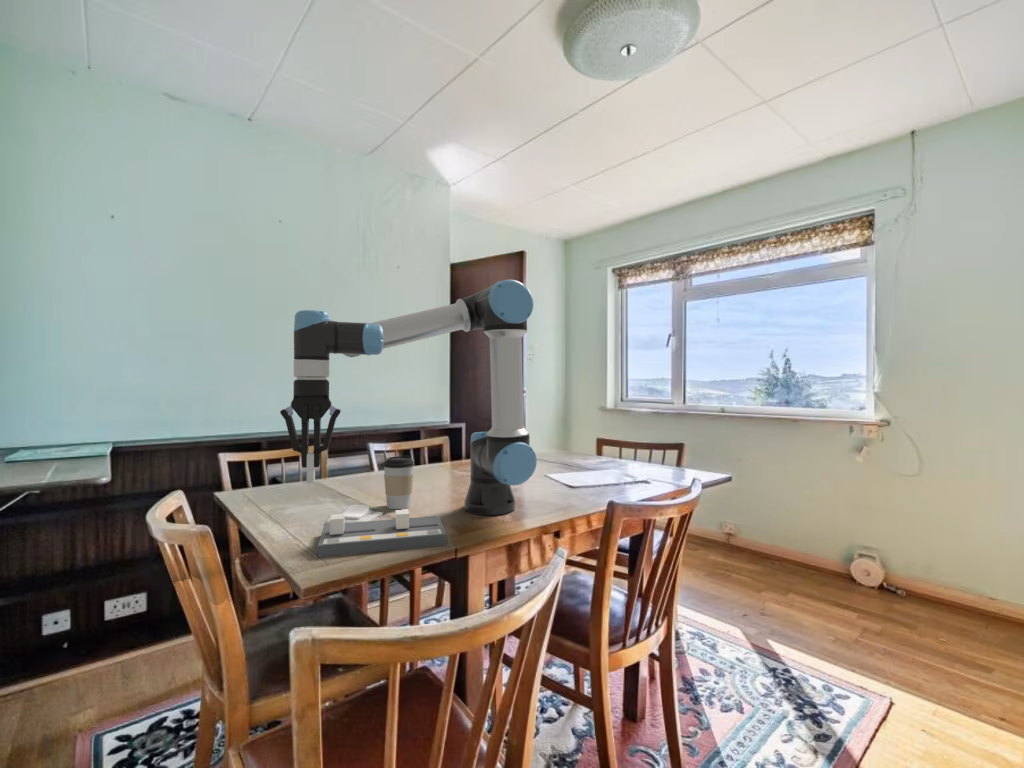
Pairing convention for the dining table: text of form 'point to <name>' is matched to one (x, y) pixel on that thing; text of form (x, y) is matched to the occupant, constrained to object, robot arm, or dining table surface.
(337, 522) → the slide switch
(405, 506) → the coffee cup
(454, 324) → the robot arm
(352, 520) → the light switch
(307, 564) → the dining table surface
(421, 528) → the switch panel
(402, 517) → the slide switch
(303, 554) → the dining table surface
